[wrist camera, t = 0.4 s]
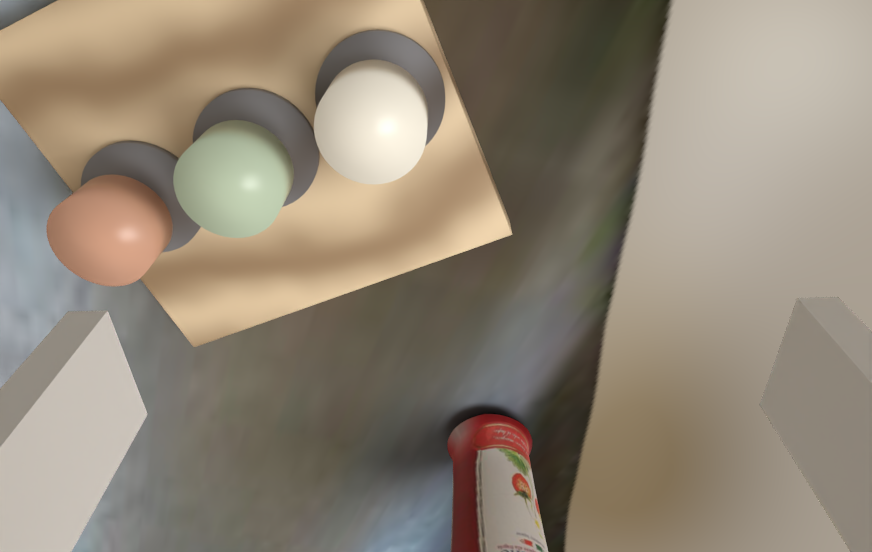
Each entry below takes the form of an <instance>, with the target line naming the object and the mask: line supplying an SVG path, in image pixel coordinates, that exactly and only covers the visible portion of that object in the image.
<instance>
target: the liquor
mask: <svg viewBox="0 0 872 552" xmlns="http://www.w3.org/2000/svg"><path fill="white" fill-rule="evenodd" d="M447 446H448V452H449V455H450V457H451V458H452V460H453V503H452V537H451V552H548V549H547V545H546V540H545V536H544V531H543V526H542V522H541V517H540V512H539V507H538V502H537V497H536V492H535V487H534V481H533V476H532V471H531V465H530V460H529V454H530V452H531V449H532V438H531V435H530V433H529V431H528V430H527V429H526V428H525V426H524V425H523V424H521V423H520V422H518V421H517V420H514V419H512V418H510V417H506V416H502V415H497V414H482V415H478V416H475V417H472V418H470V419H468V420H466V421H464V422H462V423H461V424H459V425H458V426H457V427H456V428H455V429H454V430H453V431H452V433H451V434H450V436H449V438H448V444H447Z"/></svg>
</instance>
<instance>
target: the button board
mask: <svg viewBox="0 0 872 552" xmlns="http://www.w3.org/2000/svg"><path fill="white" fill-rule="evenodd" d="M364 60H383V61H388V62H391V63H393V64H396V65H398V66H400V67H402V68H403V69H404V70H406V71H407V72H408V73H410V74H411V75H412V76H413V77H414V78H415V80H416V81H417V82H418V84H419V85H420V87H421V88H422V90H423V92H424V95H425V98H426V101H427V106H428V125H427V139H426V144H425V148H424V151H423V154H422V156H421V158H420V159H419V161H418V162H417V164H416V165H415V166H414V167H413V168H412V170H410V171H409V172H408V173H407V174H406V175H404V176H402V177H401V178H399V179H397V180H395V181H392V182H389V183H384V184H374V185H373V184H363V183H359V182H355V181H352V180H350V179H348V178H346V177H344V176H342V175H341V174H339V173H338V172H337V171H335V170H334V169H333V168H332V167H331V166H330V165H329V164H328V163H327V161H326V160H325V159H324V157H323V156H322V154H321V153H320V150H319V148H318V146H317V143H316V140H315V134H314V117H315V113H316V110H317V107H318V104H319V102H320V101H321V99H322V97H323V96H324V94H325V92H326V91H327V89H328V87H329V86H330V84H331V82H332V81H333V80H334V78H335V77H336V76H337V75H338V74H339V73H340V72H341V71H342V70H343V69H345V68H346V67H348V66H350V65H352V64H354V63H357V62H359V61H364ZM0 100H1V101H2V102H3V104H4V105H5V106H6V107H7V109H8V110H9V111H10V113H11V114H12V115H13V116H14V118H15V119H16V120H17V121H18V123H19V124H20V125H21V127H22V128H23V129H24V130H25V132H26V133H27V134H28V136H29V137H30V138H31V139H32V141H33V142H34V143H35V144H36V146H37V147H38V148H39V150H40V151H41V152H42V153H43V155H44V156H45V157H46V159H47V160H48V161H49V162H50V164H51V165H52V166H53V167H54V169H55V170H56V171H57V173H58V174H59V175H60V176H61V178H62V179H63V180H64V182H65V183H66V184H67V185H68V187H69V188H70V189H71V190H72V192H73V193H74V192H75V191H77V190H78V189H79V188H80V187H82V186H83V185H84V184H85V183H87V182H88V181H89V180H91V179H93V178H95V177H98V176H102V175H111V174H112V175H122V176H126V177H130V178H133V179H135V180H137V181H139V182H141V183H143V184H145V185H146V186H148V187H149V188H150V189H152V190H153V191H154V192H155V193H156V194H157V195H158V196H159V197H160V198H161V199H162V201H163V202H164V203H165V205H166V207H167V208H168V211H169V213H170V215H171V219H172V224H173V231H172V237H171V240H170V242H169V244H168V245H167V247H166V248H165V249H164V250H163V252H162V253H161V254H160V255H159V257H158V258H157V259H156V260H155V262H154V263H153V264H152V265H151V267H150V268H149V269H148V270H147V272H146V273H145V274H144V275H143V276H142V277H141V278H140V279H141V280H142V281H143V283H144V284H145V285H146V286H147V288H148V289H149V290H150V291H151V293H152V294H153V295H154V297H155V298H156V299H157V300H158V302H159V303H160V304H161V306H162V307H163V308H164V309H165V311H166V312H167V313H168V314H169V316H170V317H171V318H172V320H173V321H174V322H175V323H176V325H177V326H178V327H179V329H180V330H181V331H182V332H183V334H184V335H185V336H186V337H187V339H188V340H189V341H190V343H191V344H192V345H193V346H194V347H196V346H199V345H202V344H205V343H207V342H210V341H213V340H216V339H219V338H222V337H224V336H227V335H230V334H233V333H236V332H238V331H241V330H244V329H247V328H250V327H253V326H255V325H258V324H261V323H264V322H267V321H269V320H272V319H275V318H278V317H281V316H284V315H286V314H289V313H292V312H295V311H298V310H301V309H303V308H306V307H309V306H312V305H315V304H317V303H320V302H323V301H326V300H329V299H332V298H334V297H337V296H340V295H343V294H346V293H349V292H351V291H354V290H357V289H360V288H363V287H365V286H368V285H371V284H374V283H377V282H380V281H382V280H385V279H388V278H391V277H394V276H396V275H399V274H402V273H405V272H408V271H411V270H413V269H416V268H419V267H422V266H425V265H428V264H430V263H433V262H436V261H439V260H442V259H444V258H447V257H450V256H453V255H456V254H459V253H461V252H464V251H467V250H470V249H473V248H476V247H478V246H481V245H484V244H487V243H490V242H492V241H495V240H498V239H501V238H504V237H507V236H509V235H512V231H511V226H510V221H509V218H508V216H507V213H506V211H505V208H504V205H503V203H502V200H501V198H500V195H499V193H498V190H497V188H496V185H495V182H494V180H493V177H492V175H491V172H490V170H489V167H488V165H487V162H486V159H485V157H484V154H483V152H482V149H481V147H480V144H479V142H478V139H477V136H476V134H475V131H474V129H473V126H472V124H471V121H470V119H469V116H468V114H467V111H466V108H465V106H464V103H463V101H462V98H461V96H460V93H459V91H458V88H457V85H456V83H455V80H454V78H453V75H452V73H451V70H450V68H449V65H448V62H447V60H446V57H445V55H444V52H443V50H442V47H441V45H440V42H439V39H438V37H437V34H436V32H435V29H434V27H433V24H432V22H431V19H430V16H429V14H428V11H427V9H426V6H425V4H424V1H423V0H57V1H56V2H54V3H52V4H50V5H48V6H46V7H44V8H42V9H40V10H38V11H36V12H35V13H33V14H31V15H29V16H27V17H25V18H23V19H21V20H19V21H17V22H15V23H14V24H12V25H10V26H8V27H6V28H4V29H2V30H0ZM229 120H243V121H248V122H252V123H255V124H257V125H260V126H262V127H264V128H265V129H267V130H269V131H270V132H271V133H273V134H274V135H275V136H276V137H277V138H278V139H279V140H280V141H281V142H282V144H283V145H284V146H285V148H286V149H287V151H288V153H289V155H290V157H291V160H292V164H293V169H294V179H293V185H292V188H291V190H290V193H289V194H288V196H287V198H286V200H285V202H284V204H283V206H282V208H281V210H280V212H279V213H278V215H277V217H276V219H275V220H274V222H273V223H272V224H271V225H270V226H269V227H268V228H267V229H265V230H264V231H262V232H260V233H258V234H256V235H253V236H250V237H245V238H229V237H224V236H220V235H217V234H214V233H212V232H209V231H208V230H206V229H204V228H202V227H201V226H199V225H198V224H197V223H195V222H194V221H193V220H192V219H191V218H190V217H189V216H188V215H187V214H186V212H185V211H184V210H183V208H182V207H181V205H180V203H179V201H178V199H177V197H176V194H175V190H174V184H173V176H174V170H175V166H176V164H177V162H178V160H179V158H180V157H181V155H182V154H183V153H184V152H185V151H186V150H187V149H188V148H189V147H190V146H191V145H192V144H193V143H194V142H195V141H196V140H197V139H198V138H199V137H200V136H201V135H202V134H203V133H204V132H205V131H206V130H208V129H209V128H210V127H212V126H214V125H215V124H218V123H220V122H224V121H229Z"/></svg>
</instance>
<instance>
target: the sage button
mask: <svg viewBox="0 0 872 552" xmlns="http://www.w3.org/2000/svg"><path fill="white" fill-rule="evenodd" d="M293 179H294V169H293V164H292V160H291V157H290V155H289V153H288V151H287V149H286V148H285V146H284V145H283V144H282V142H281V141H280V140H279V139H278V138H277V137H276V136H275V135H274V134H273V133H271V132H270V131H269V130H267V129H265V128H264V127H262V126H260V125H257V124H255V123H252V122H248V121H243V120H229V121H224V122H220V123H218V124H215V125H214V126H212V127H210V128H209V129H208V130H206V131H205V132H204V133H203V134H202V135H201V136H200V137H199V138H198V139H197V140H196V141H195V142H194V143H193V144H192V145H191V146H190V147H189V148H188V149H187V150H186V151H185V152H184V153H183V154H182V155H181V157H180V158H179V160H178V162H177V164H176V166H175V170H174V176H173V184H174V190H175V194H176V197H177V199H178V201H179V203H180V205H181V207H182V208H183V210H184V211H185V212H186V214H187V215H188V216H189V217H190V218H191V219H192V220H193V221H194V222H195V223H197V224H198V225H199V226H201V227H202V228H204V229H206V230H208V231H209V232H212V233H214V234H217V235H220V236H224V237H229V238H245V237H250V236H253V235H256V234H258V233H260V232H262V231H264V230H265V229H267V228H268V227H269V226H270V225H271V224H272V223H273V222H274V220H275V219H276V217H277V215H278V213H279V212H280V210H281V208H282V206H283V204H284V202H285V200H286V198H287V196H288V194H289V193H290V190H291V188H292V185H293Z"/></svg>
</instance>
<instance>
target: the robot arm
mask: <svg viewBox="0 0 872 552" xmlns="http://www.w3.org/2000/svg"><path fill="white" fill-rule="evenodd" d="M760 406H761V408H762V410H763V411H764V413H765V414H766V416H767V418H768V419H769V421H770V423H771V424H772V426H773V427H774V429H775V431H776V432H777V434H778V435H779V437H780V439H781V440H782V442H783V443H784V445H785V447H786V448H787V450H788V452H789V453H790V455H791V456H792V458H793V460H794V461H795V463H796V465H797V466H798V468H799V469H800V471H801V473H802V474H803V476H804V477H805V479H806V481H807V482H808V484H809V486H810V487H811V488H812V490H813V492H814V494H815V495H816V497H817V499H818V500H819V502H820V503H821V505H822V506H823V508H824V510H825V511H826V513H827V515H828V516H829V518H830V519H831V521H832V523H833V524H834V526H835V528H836V529H837V531H838V532H839V534H840V535H841V537H842V539H843V541H844V542H845V544H846V545H847V547H848V549H849V550H850V552H872V331H871V330H870V329H869V328H868V327H867V326H866V325H865V324H864V323H863V322H862V321H861V320H860V319H859V318H858V317H857V316H856V315H855V314H854V313H853V312H852V311H851V310H850V309H849V308H848V307H847V306H846V305H845V303H844V302H843V301H842V300H841V299H840V298H839V297H821V298H819V297H818V298H797V300H796V303H795V306H794V308H793V312H792V314H791V317H790V320H789V323H788V326H787V328H786V331H785V334H784V337H783V340H782V343H781V345H780V348H779V351H778V354H777V357H776V360H775V362H774V365H773V368H772V371H771V374H770V377H769V380H768V382H767V385H766V388H765V391H764V394H763V397H762V399H761V402H760ZM146 416H147V412H146V409H145V407H144V404H143V401H142V399H141V396H140V394H139V391H138V388H137V386H136V383H135V381H134V378H133V375H132V373H131V370H130V368H129V365H128V363H127V360H126V357H125V355H124V352H123V350H122V347H121V344H120V342H119V339H118V337H117V334H116V331H115V329H114V326H113V324H112V321H111V318H110V316H109V313H108V311H68V312H67V313H66V314H65V316H64V317H63V318H62V319H61V320H60V321H59V322H58V324H57V325H56V326H55V327H54V328H53V329H52V330H51V332H50V333H49V334H48V335H47V336H46V337H45V338H44V340H43V341H42V342H41V343H40V344H39V345H38V346H37V348H36V349H35V350H34V351H33V352H32V353H31V354H30V356H29V357H28V358H27V359H26V360H25V361H24V362H23V364H22V365H21V366H20V367H19V368H18V369H17V370H16V372H15V373H14V374H13V375H12V376H11V377H10V378H9V379H8V381H7V382H6V383H5V384H4V385H3V386H2V387H1V389H0V552H71V551H72V550H73V548H74V546H75V544H76V542H77V541H78V539H79V537H80V535H81V533H82V532H83V530H84V528H85V526H86V524H87V523H88V521H89V519H90V517H91V515H92V514H93V512H94V510H95V508H96V506H97V505H98V503H99V501H100V499H101V497H102V495H103V494H104V492H105V490H106V488H107V486H108V485H109V483H110V481H111V479H112V477H113V476H114V474H115V472H116V470H117V468H118V467H119V465H120V463H121V461H122V459H123V458H124V456H125V454H126V452H127V450H128V449H129V447H130V445H131V443H132V441H133V440H134V438H135V436H136V434H137V432H138V431H139V429H140V427H141V425H142V423H143V422H144V420H145V418H146Z"/></svg>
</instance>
